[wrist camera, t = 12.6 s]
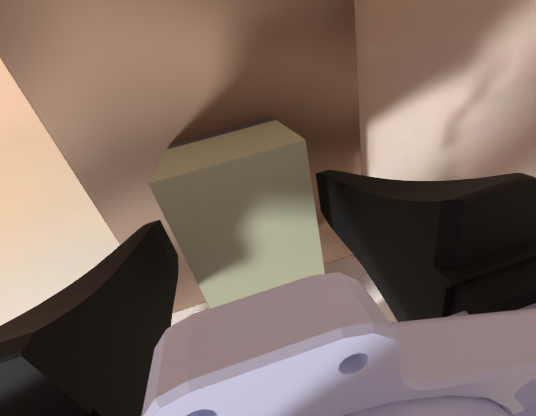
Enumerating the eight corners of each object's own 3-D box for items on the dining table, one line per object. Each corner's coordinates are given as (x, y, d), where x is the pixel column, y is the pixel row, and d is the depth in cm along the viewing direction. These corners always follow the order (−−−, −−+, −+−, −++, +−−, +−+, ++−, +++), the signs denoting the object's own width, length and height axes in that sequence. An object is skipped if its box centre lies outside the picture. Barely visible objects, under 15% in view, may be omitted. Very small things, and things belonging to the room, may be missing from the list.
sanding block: (297, 244, 16) (329, 306, 12) (221, 268, 16) (226, 341, 12) (271, 116, 12) (305, 139, 8) (169, 144, 12) (147, 183, 8)
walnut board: (353, 239, 19) (364, 251, 18) (168, 298, 18) (165, 315, 17) (329, -114, 10) (347, -142, 9) (-35, -39, 9) (-74, -57, 8)
